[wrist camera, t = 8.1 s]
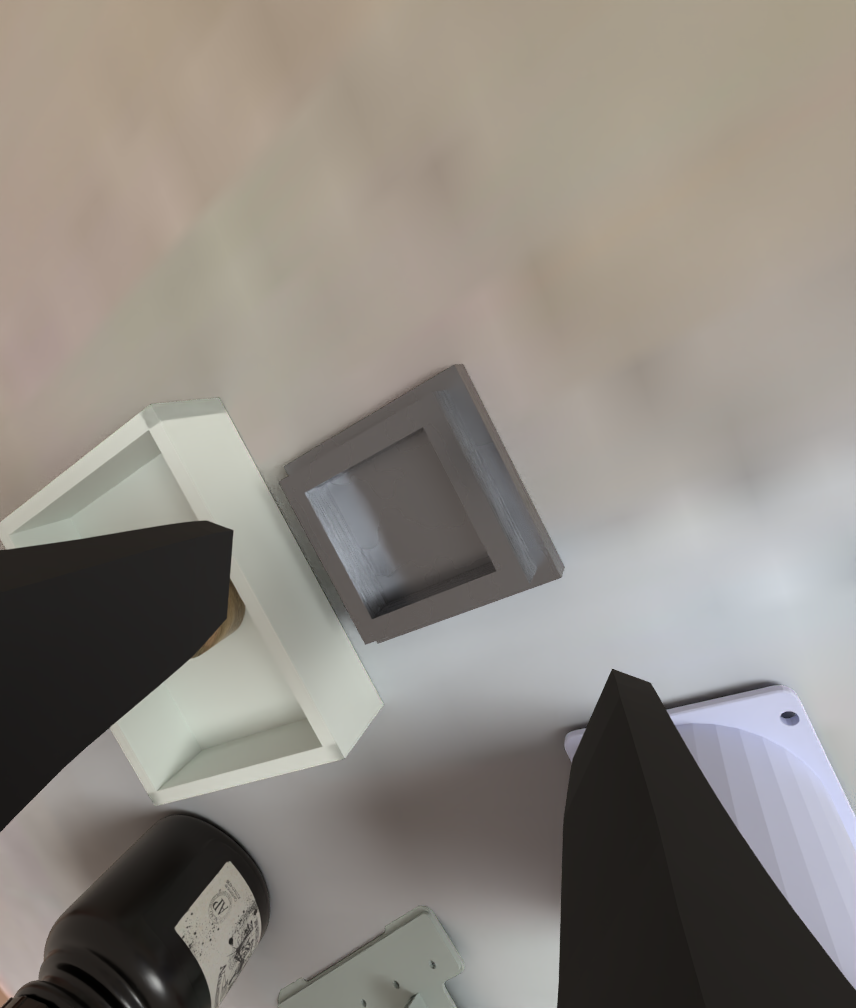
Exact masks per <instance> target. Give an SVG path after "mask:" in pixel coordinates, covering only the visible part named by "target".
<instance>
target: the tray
mask: <svg viewBox="0 0 856 1008" xmlns="http://www.w3.org/2000/svg"><path fill="white" fill-rule="evenodd" d="M205 520H207V521H210V522H213V523H215V524H218V525H221V526H224V527H226V528H229V529H232V530H234V532H233V545H232V558H231V571H230V579H231V581H232V582H233V584H234V586H235V588H236V590H237V591H238V593H239V595H240V597H241V599H242V601H243V602H244V604H245V615H244V618H243V621H242V623H241V625H240V626H239V628H238V629H237V630H236V631H235V632H233V633H232V634H231V635H229V636H228V637H226V638H225V639H223V640H222V641H220V642H219V643H218V644H216V645H215V646H213V647H212V648H210V649H209V650H208V651H206V652H205V653H203V654H202V655H200V656H198V657H196V658H191V659H189V660H188V661H187V662H186V663H185V664H184V665H183V666H182V667H180V668H179V669H178V670H177V671H176V672H175V673H173V674H172V675H171V676H170V677H169V678H168V679H166V680H165V681H164V682H163V683H162V684H161V685H160V686H158V687H157V688H156V689H155V690H154V691H152V692H151V693H150V694H149V695H148V696H147V697H145V698H144V699H143V700H142V701H141V702H139V703H138V704H137V705H136V706H135V707H133V708H132V709H131V710H130V711H129V712H128V713H126V714H125V715H124V716H123V717H122V718H120V719H119V720H118V721H117V722H116V723H115V724H113V725H112V726H111V727H110V730H111V731H112V733H113V735H114V736H115V738H116V740H117V742H118V743H119V745H120V747H121V749H122V750H123V752H124V754H125V755H126V757H127V759H128V761H129V762H130V764H131V766H132V768H133V769H134V771H135V773H136V775H137V776H138V778H139V780H140V781H141V783H142V785H143V787H144V788H145V790H146V792H147V794H148V795H149V797H150V799H151V800H152V802H153V804H154V806H158V805H162V804H166V803H170V802H174V801H178V800H182V799H186V798H190V797H194V796H198V795H202V794H206V793H210V792H214V791H218V790H222V789H226V788H230V787H234V786H238V785H242V784H246V783H250V782H254V781H258V780H262V779H266V778H270V777H274V776H278V775H282V774H286V773H290V772H294V771H298V770H302V769H306V768H310V767H314V766H318V765H322V764H326V763H330V762H334V761H338V760H342V759H345V758H346V757H347V755H348V754H349V752H350V751H351V750H352V748H353V747H354V745H355V744H356V743H357V741H358V740H359V738H360V737H361V736H362V734H363V733H364V732H365V730H366V729H367V727H368V726H369V725H370V723H371V722H372V720H373V719H374V718H375V716H376V715H377V713H378V712H379V711H380V709H381V708H382V706H383V705H384V704H383V702H382V700H381V698H380V696H379V695H378V693H377V691H376V689H375V687H374V685H373V683H372V682H371V680H370V678H369V676H368V674H367V672H366V670H365V669H364V667H363V665H362V663H361V661H360V659H359V657H358V655H357V654H356V652H355V650H354V648H353V646H352V644H351V642H350V641H349V639H348V637H347V635H346V633H345V631H344V629H343V628H342V626H341V624H340V622H339V620H338V618H337V616H336V614H335V613H334V611H333V609H332V607H331V605H330V603H329V601H328V600H327V598H326V596H325V594H324V592H323V590H322V588H321V587H320V585H319V583H318V581H317V579H316V577H315V575H314V573H313V572H312V570H311V568H310V566H309V564H308V562H307V560H306V559H305V557H304V555H303V553H302V551H301V549H300V547H299V546H298V544H297V542H296V540H295V538H294V536H293V534H292V532H291V531H290V529H289V527H288V525H287V523H286V521H285V519H284V518H283V516H282V514H281V512H280V510H279V508H278V506H277V505H276V503H275V501H274V499H273V497H272V495H271V493H270V492H269V490H268V488H267V486H266V484H265V482H264V480H263V478H262V477H261V475H260V473H259V471H258V469H257V467H256V465H255V464H254V462H253V460H252V458H251V456H250V454H249V452H248V451H247V449H246V447H245V445H244V443H243V441H242V439H241V437H240V436H239V434H238V432H237V430H236V428H235V426H234V424H233V423H232V421H231V419H230V417H229V415H228V413H227V411H226V410H225V408H224V406H223V404H222V402H221V400H220V398H208V399H197V400H187V401H176V402H165V403H154V404H150V405H149V406H147V407H146V408H145V409H144V410H142V411H141V412H140V413H138V414H137V415H136V416H135V417H133V418H132V419H131V420H130V421H128V422H127V423H126V424H124V425H123V426H122V427H121V428H119V429H118V430H117V431H116V432H114V433H113V434H112V435H110V436H109V437H108V438H107V439H105V440H104V441H103V442H102V443H100V444H99V445H98V446H96V447H95V448H94V449H93V450H91V451H90V452H89V453H88V454H86V455H85V456H84V457H82V458H81V459H80V460H79V461H77V462H76V463H75V464H74V465H72V466H71V467H70V468H68V469H67V470H66V471H65V472H63V473H62V474H61V475H60V476H58V477H57V478H56V479H54V480H53V481H52V482H51V483H49V484H48V485H47V486H46V487H44V488H43V489H42V490H40V491H39V492H38V493H37V494H35V495H34V496H33V497H32V498H30V499H29V500H28V501H26V502H25V503H24V504H23V505H21V506H20V507H19V508H18V509H16V510H15V511H14V512H12V513H11V514H10V515H9V516H7V517H6V518H5V519H4V520H2V521H1V522H0V539H1V541H2V543H3V544H4V546H5V548H6V550H7V549H14V548H21V547H28V546H35V545H42V544H49V543H56V542H63V541H70V540H77V539H84V538H89V537H95V536H101V535H107V534H113V533H119V532H125V531H131V530H137V529H143V528H149V527H155V526H161V525H168V524H175V523H182V522H191V521H205Z"/></svg>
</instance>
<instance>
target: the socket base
mask: <svg viewBox="0 0 856 1008" xmlns="http://www.w3.org/2000/svg"><path fill="white" fill-rule="evenodd" d="M284 468H285V470H286V472H287V474H288V477H286V478H284V479H283V480H281V481H279V484H280V486H281V488H282V489H283V491H284V493H285V495H286V497H287V499H288V501H289V503H290V504H291V506H292V508H293V510H294V512H295V514H296V516H297V518H298V519H299V521H300V523H301V525H302V527H303V529H304V531H305V533H306V534H307V536H308V538H309V540H310V542H311V544H312V546H313V547H314V549H315V551H316V553H317V555H318V557H319V559H320V561H321V562H322V564H323V566H324V568H325V570H326V572H327V574H328V576H329V577H330V579H331V581H332V583H333V585H334V587H335V589H336V590H337V592H338V594H339V596H340V598H341V600H342V602H343V604H344V605H345V607H346V609H347V611H348V613H349V615H350V617H351V619H352V620H353V622H354V624H355V626H356V628H357V630H358V632H359V634H360V635H361V637H362V639H363V641H364V643H365V645H366V644H368V643H371V642H374V641H377V643H381V642H384V641H386V640H389V639H392V638H395V637H397V636H400V635H403V634H406V633H409V632H411V631H414V630H417V629H420V628H422V627H425V626H428V625H431V624H434V623H436V622H439V621H442V620H445V619H448V618H450V617H453V616H456V615H459V614H461V613H464V612H467V611H470V610H473V609H475V608H478V607H481V606H484V605H487V604H489V603H492V602H495V601H498V600H500V599H503V598H506V597H509V596H512V595H514V594H517V593H520V592H523V591H525V590H528V589H531V588H534V587H537V586H539V585H542V584H545V583H548V582H551V581H553V580H556V579H559V578H561V577H562V574H563V571H564V568H565V567H564V565H563V563H562V561H561V559H560V557H559V555H558V553H557V551H556V549H555V547H554V545H553V543H552V541H551V539H550V537H549V535H548V533H547V531H546V529H545V527H544V525H543V523H542V521H541V519H540V517H539V515H538V513H537V511H536V509H535V507H534V505H533V503H532V501H531V499H530V497H529V495H528V493H527V491H526V489H525V487H524V485H523V483H522V481H521V479H520V477H519V475H518V473H517V471H516V469H515V467H514V465H513V463H512V461H511V459H510V457H509V455H508V453H507V451H506V449H505V447H504V445H503V443H502V441H501V439H500V437H499V435H498V433H497V431H496V429H495V427H494V425H493V423H492V421H491V419H490V417H489V415H488V413H487V411H486V409H485V407H484V405H483V403H482V401H481V399H480V397H479V395H478V393H477V391H476V389H475V387H474V385H473V383H472V381H471V379H470V377H469V375H468V373H467V371H466V369H465V367H464V365H463V364H455V365H453V366H451V367H449V368H448V369H446V370H444V371H443V372H441V373H439V374H438V375H436V376H434V377H433V378H431V379H429V380H428V381H426V382H424V383H423V384H421V385H419V386H418V387H416V388H414V389H413V390H411V391H409V392H408V393H406V394H404V395H403V396H401V397H399V398H397V399H396V400H394V401H392V402H391V403H389V404H387V405H386V406H384V407H382V408H381V409H379V410H377V411H376V412H374V413H372V414H371V415H369V416H367V417H366V418H364V419H362V420H361V421H359V422H357V423H356V424H354V425H352V426H351V427H349V428H347V429H346V430H344V431H342V432H341V433H339V434H337V435H336V436H334V437H332V438H331V439H329V440H327V441H325V442H324V443H322V444H320V445H319V446H317V447H315V448H314V449H312V450H310V451H309V452H307V453H305V454H304V455H302V456H300V457H299V458H297V459H295V460H294V461H292V462H290V463H289V464H287V465H285V466H284Z"/></svg>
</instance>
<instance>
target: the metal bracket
mask: <svg viewBox="0 0 856 1008" xmlns="http://www.w3.org/2000/svg"><path fill="white" fill-rule="evenodd" d="M432 961H433V962H434V963H435V965H436V966H434V965H433V963H432ZM464 967H465V966H464V962H463V960H462V958H461V957H460V955H459V953H458V952H457V950H456V948H455V947H454V945H453V943H452V942H451V940H450V939H449V937H448V935H447V934H446V932H445V930H444V929H443V927H442V925H441V924H440V922H439V921H438V919H437V917H436V916H435V914H434V913H433V911H432V910H431V909H429V908H428V907H426V906H418V907H416V908H415V909H413V910H411V911H410V912H408V913H407V914H405V915H403V916H402V917H400V918H398V919H397V920H395V921H393V922H392V923H390V924H388V925H387V926H385V933H384V934H382V935H381V936H379V937H378V938H376V939H374V940H373V941H371V942H370V943H368V944H367V945H365V946H363V947H362V948H360V949H359V950H357V951H356V952H354V953H352V954H351V955H349V956H348V957H346V958H345V959H343V960H341V961H340V962H338V963H337V964H335V965H334V966H332V967H330V968H329V969H327V970H326V971H324V972H322V973H321V974H319V975H318V976H316V977H315V978H313V979H311V980H310V981H306V980H304V979H303V978H302V977H301V978H300V979H298V980H296V982H293V983H291V984H290V985H288V986H287V987H285V988H283V989H282V990H281V991H280V994H279V998H278V1004H279V1005H278V1008H457V1007H456V1005H455V1003H454V1002H453V1000H452V998H451V997H450V995H449V993H448V992H447V990H446V988H445V985H444V982H445V981H447V980H449V979H451V978H453V977H455V976H457V975H459V974H461V973H462V971H463V970H464ZM396 981H397V982H398V983H397V982H396ZM398 984H399V985H398Z"/></svg>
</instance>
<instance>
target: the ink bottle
mask: <svg viewBox="0 0 856 1008" xmlns="http://www.w3.org/2000/svg"><path fill="white" fill-rule="evenodd" d="M269 917H270V902H269V896H268V891H267V888H266V885H265V882H264V879H263V877H262V875H261V873H260V871H259V870H258V868H257V866H256V865H255V863H254V862H253V861H252V859H251V858H250V857H249V856H248V855H247V853H246V852H245V851H244V850H243V849H242V848H241V847H240V846H239V845H238V844H237V843H236V842H234V841H233V840H232V839H231V838H230V837H228V836H227V835H226V834H224V833H223V832H222V831H220V830H219V829H217V828H215V827H214V826H212V825H210V824H208V823H206V822H204V821H202V820H200V819H197V818H194V817H191V816H186V815H171V816H168V817H165V818H163V819H161V820H160V821H158V822H157V823H156V824H154V825H153V826H152V827H151V828H150V829H149V830H148V831H147V832H146V833H145V834H144V835H143V836H142V837H141V838H140V839H139V840H138V841H137V842H136V843H135V844H134V845H132V846H131V847H130V848H129V849H128V850H127V851H126V852H125V853H124V854H123V855H122V856H121V857H120V858H119V859H118V860H117V861H116V862H115V863H114V864H113V865H112V866H111V867H110V868H109V869H108V870H107V871H106V872H105V873H104V874H103V875H102V876H101V877H100V878H99V879H98V880H97V881H95V882H94V883H93V884H92V885H91V886H90V887H89V888H88V889H87V890H86V891H85V892H84V893H83V894H82V895H81V896H80V897H79V898H78V899H77V900H76V901H75V902H74V903H73V904H72V905H71V906H70V907H69V908H68V909H67V910H66V911H65V912H64V913H63V914H62V915H61V916H60V917H59V919H58V920H57V921H56V922H55V924H54V925H53V927H52V929H51V931H50V933H49V935H48V938H47V941H46V945H45V950H44V962H43V963H42V966H41V968H40V972H39V980H37V981H31V982H29V983H27V984H25V985H24V986H22V987H21V988H20V989H19V990H18V992H17V993H16V994H15V996H14V998H12V997H11V998H10V999H9V1000H8V1001H7V1002H6V1003H5V1004H4V1005H3V1006H2V1007H1V1008H218V1007H219V1005H220V1004H221V1002H222V1000H223V999H224V997H225V996H226V994H227V993H228V991H229V990H230V988H231V986H232V985H233V983H234V982H235V980H236V979H237V977H238V975H239V974H240V972H241V971H242V969H243V968H244V966H245V964H246V963H247V961H248V960H249V958H250V957H251V955H252V953H253V952H254V950H255V949H256V947H257V945H258V944H259V942H260V941H261V939H262V937H263V935H264V934H265V931H266V929H267V926H268V923H269Z"/></svg>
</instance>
